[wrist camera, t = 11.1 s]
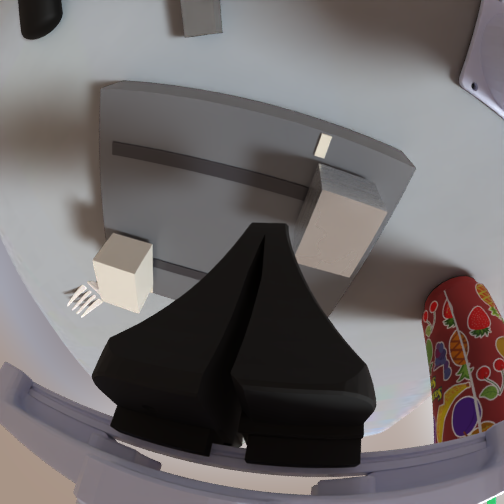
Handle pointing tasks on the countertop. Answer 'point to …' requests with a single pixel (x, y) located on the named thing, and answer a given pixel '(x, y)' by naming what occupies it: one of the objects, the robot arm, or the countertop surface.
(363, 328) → the countertop surface
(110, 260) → the block
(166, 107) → the gray slider board
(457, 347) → the smoothie
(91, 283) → the fork
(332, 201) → the steel fader
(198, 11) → the gun
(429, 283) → the countertop surface
